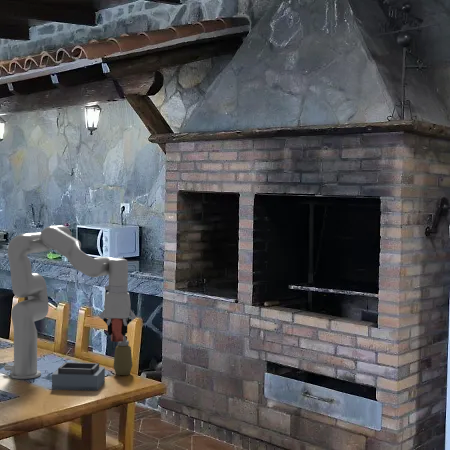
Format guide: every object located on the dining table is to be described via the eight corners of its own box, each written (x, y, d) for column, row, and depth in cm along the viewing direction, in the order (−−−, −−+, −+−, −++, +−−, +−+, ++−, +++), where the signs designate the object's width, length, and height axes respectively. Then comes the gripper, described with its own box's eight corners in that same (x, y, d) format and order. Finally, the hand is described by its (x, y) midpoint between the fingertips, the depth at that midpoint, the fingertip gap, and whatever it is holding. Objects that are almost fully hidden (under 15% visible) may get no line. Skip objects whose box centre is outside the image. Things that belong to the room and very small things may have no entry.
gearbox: (51, 389, 278) (51, 369, 278) (61, 380, 291) (61, 361, 291) (97, 390, 277) (97, 370, 277) (104, 381, 290) (104, 362, 290)
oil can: (109, 341, 280) (110, 308, 279) (112, 338, 285) (112, 305, 284) (122, 342, 280) (122, 308, 279) (124, 339, 284) (125, 306, 284)
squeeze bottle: (128, 377, 297) (129, 335, 296) (110, 376, 299) (110, 333, 298) (135, 372, 305) (135, 331, 304) (117, 371, 307) (117, 330, 306)
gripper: (94, 290, 278) (94, 336, 279) (137, 291, 277) (136, 337, 278) (99, 287, 285) (98, 332, 286) (140, 288, 284) (140, 333, 285)
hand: (117, 334), depth 282 cm, fingers closed on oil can, 5 cm apart
